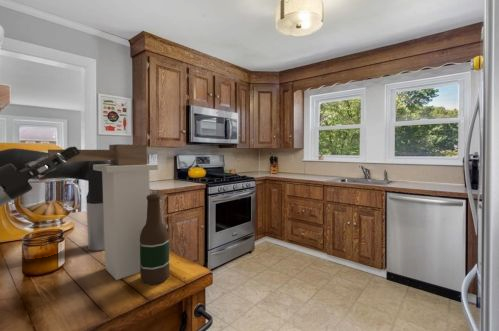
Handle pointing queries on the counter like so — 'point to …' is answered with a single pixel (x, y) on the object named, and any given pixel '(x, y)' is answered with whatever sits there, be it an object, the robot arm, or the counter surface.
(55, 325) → the counter surface
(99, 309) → the counter surface
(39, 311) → the counter surface
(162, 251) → the beer bottle
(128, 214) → the stand
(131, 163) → the mallet
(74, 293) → the counter surface
